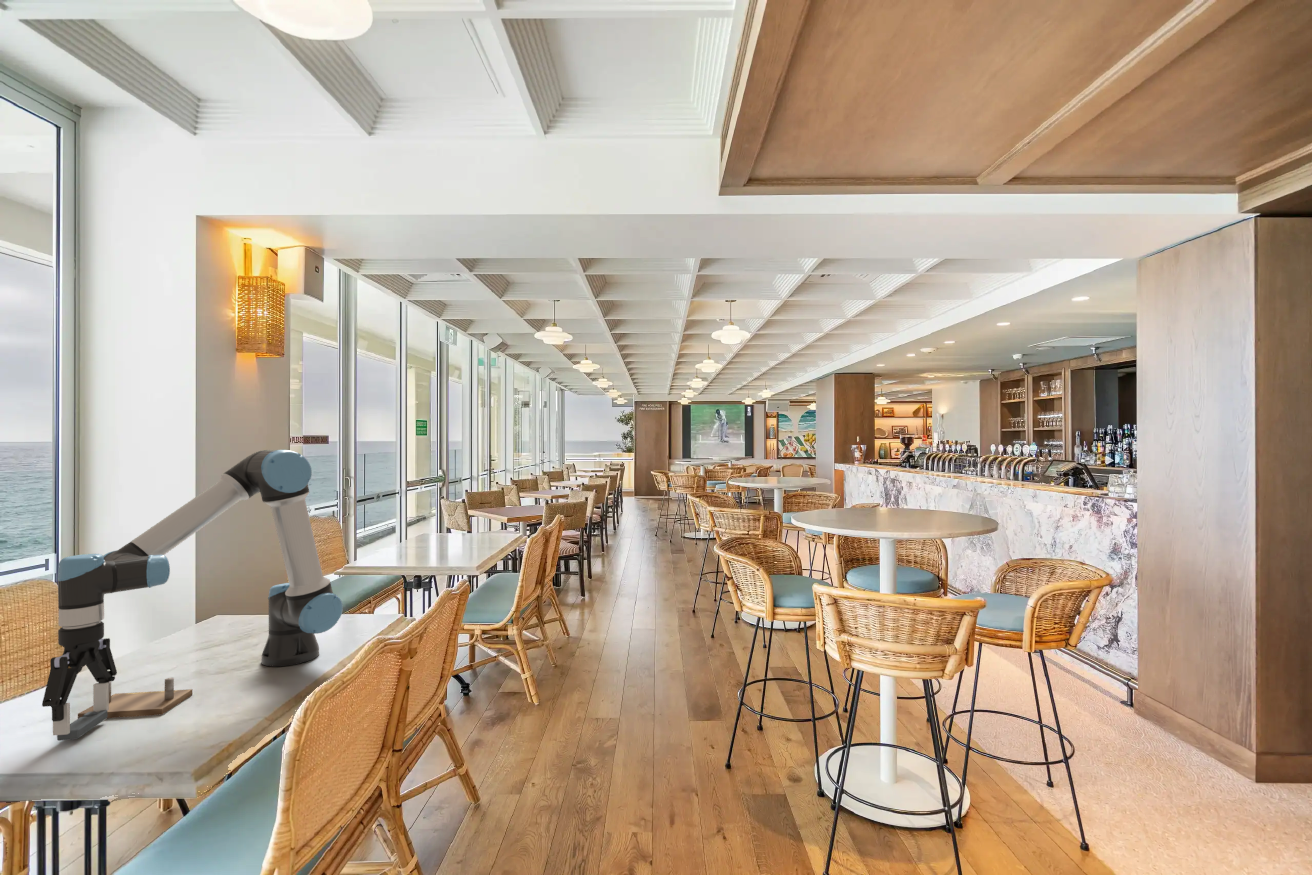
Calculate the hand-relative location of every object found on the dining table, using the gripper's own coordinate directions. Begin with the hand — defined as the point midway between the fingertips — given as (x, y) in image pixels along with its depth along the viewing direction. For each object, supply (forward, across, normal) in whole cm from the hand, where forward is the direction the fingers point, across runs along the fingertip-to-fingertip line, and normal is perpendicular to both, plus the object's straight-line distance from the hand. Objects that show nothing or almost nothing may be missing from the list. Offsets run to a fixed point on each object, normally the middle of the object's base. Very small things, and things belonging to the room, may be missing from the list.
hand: (82, 722), depth 137 cm
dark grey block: (+2, 0, 0) cm, 2 cm away
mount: (+3, -14, +3) cm, 14 cm away
